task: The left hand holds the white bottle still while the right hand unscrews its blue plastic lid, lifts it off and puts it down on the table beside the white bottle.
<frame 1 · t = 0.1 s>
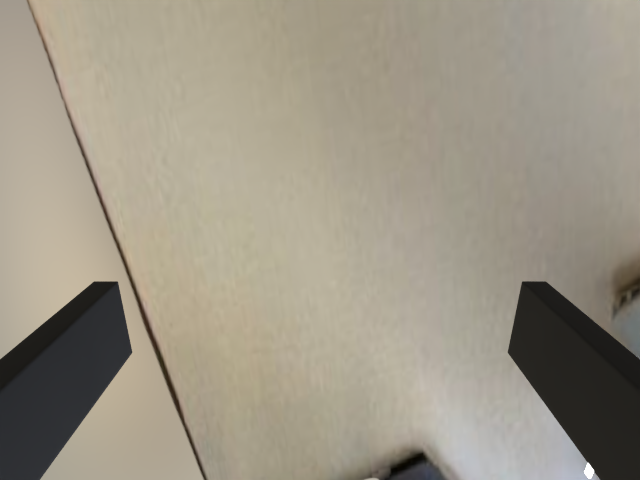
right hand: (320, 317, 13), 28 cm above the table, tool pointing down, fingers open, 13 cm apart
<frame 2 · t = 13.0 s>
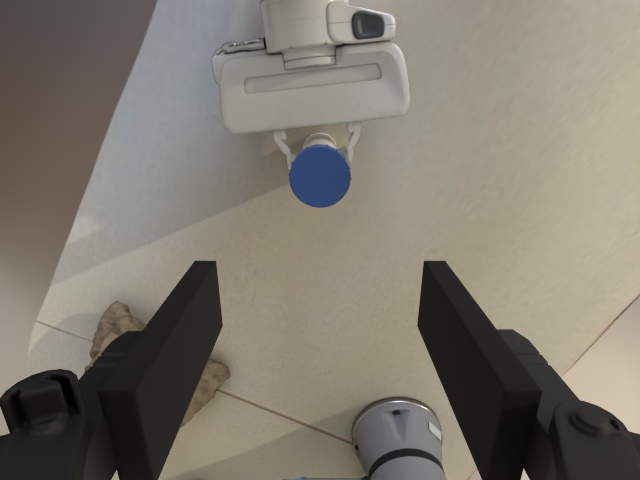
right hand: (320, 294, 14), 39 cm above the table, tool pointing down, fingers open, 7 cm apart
left hand: (321, 166, 45), fingers closed on white bottle, 4 cm apart
white bottle: (320, 150, 51), on the table, touching left hand
stone: (160, 358, 63), on the table
lid: (320, 177, 35), point 17 cm above the table, screwed on, not yet turned
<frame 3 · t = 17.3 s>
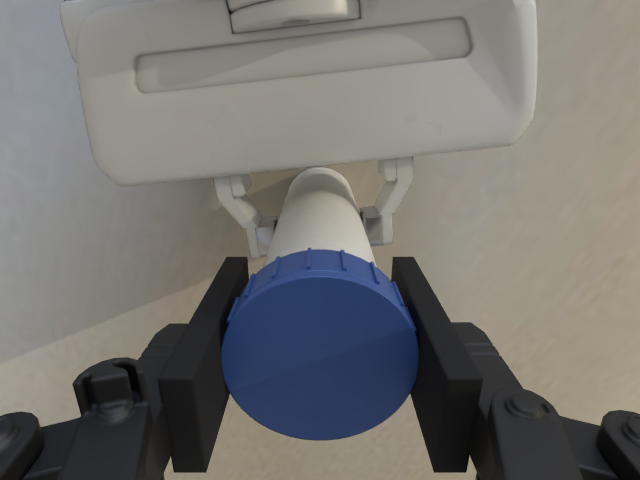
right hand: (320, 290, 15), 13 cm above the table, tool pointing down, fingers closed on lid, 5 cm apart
left hand: (322, 247, 21), fingers closed on white bottle, 4 cm apart
white bottle: (319, 200, 27), on the table, touching left hand
lid: (320, 357, 11), point 17 cm above the table, screwed on, not yet turned, touching right hand
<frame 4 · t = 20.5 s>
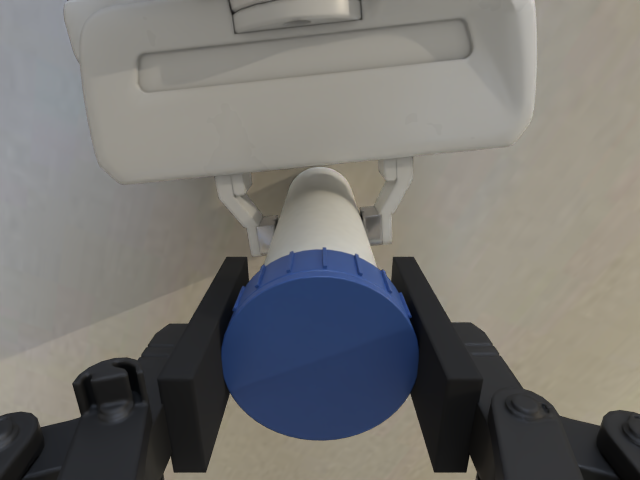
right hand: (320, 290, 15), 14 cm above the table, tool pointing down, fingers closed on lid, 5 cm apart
left hand: (322, 246, 21), fingers closed on white bottle, 4 cm apart
white bottle: (320, 199, 27), on the table, touching left hand
lid: (320, 357, 11), point 18 cm above the table, turned 111° so far, risen 0.1 cm, still on its thread, touching right hand
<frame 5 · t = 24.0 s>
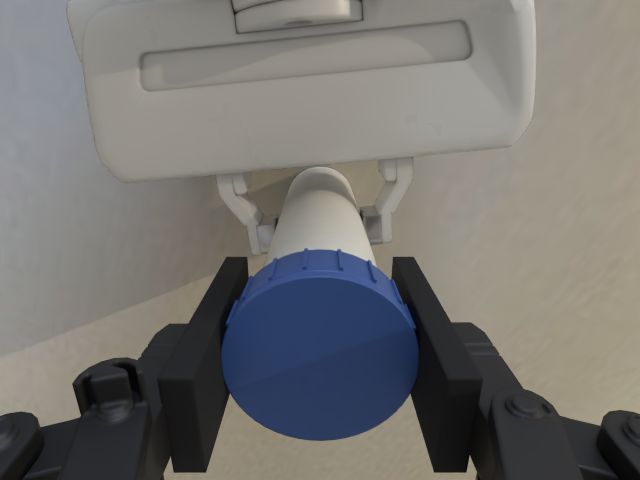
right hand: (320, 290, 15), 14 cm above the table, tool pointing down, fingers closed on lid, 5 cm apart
left hand: (322, 246, 21), fingers closed on white bottle, 4 cm apart
white bottle: (320, 199, 27), on the table, touching left hand
lid: (320, 358, 11), point 18 cm above the table, turned 223° so far, risen 0.3 cm, still on its thread, touching right hand
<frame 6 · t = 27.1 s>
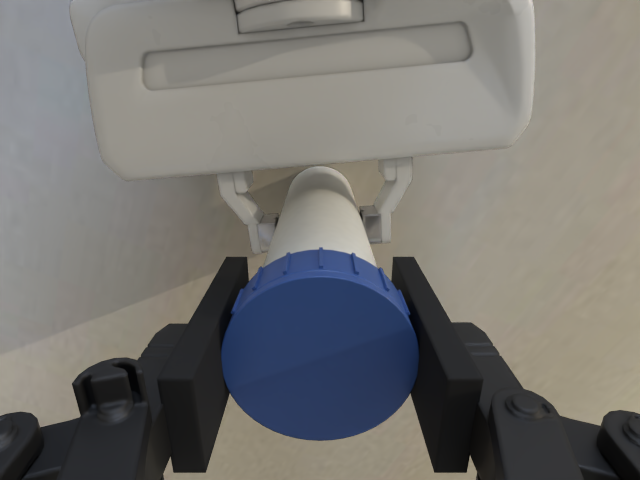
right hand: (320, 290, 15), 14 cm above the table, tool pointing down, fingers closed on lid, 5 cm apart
left hand: (322, 245, 22), fingers closed on white bottle, 4 cm apart
white bottle: (320, 198, 28), on the table, touching left hand
lid: (320, 358, 11), point 18 cm above the table, turned 334° so far, risen 0.4 cm, still on its thread, touching right hand
when the right hand's fingers open (0 cm above the table, at t = 35.5 s): lid drops 3 cm, point 1 cm above the table.
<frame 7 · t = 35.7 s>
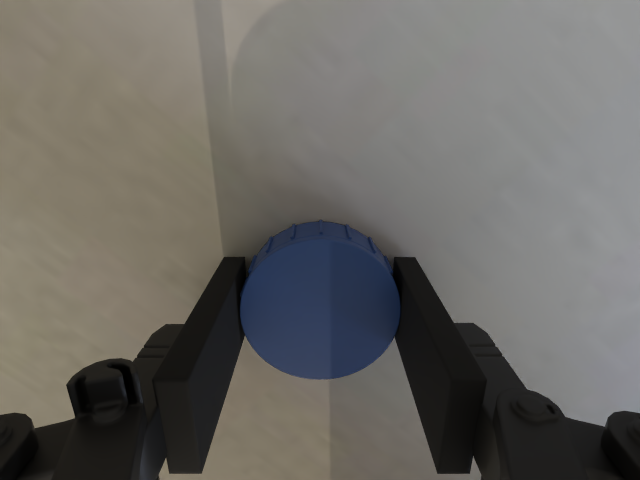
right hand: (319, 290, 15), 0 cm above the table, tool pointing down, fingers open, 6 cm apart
lid: (320, 309, 13), point 1 cm above the table, off its thread, touching right hand
when the left hand's fingers open (7 cm above the table, at t = 37.3 s): white bottle stays where it is, on the table.
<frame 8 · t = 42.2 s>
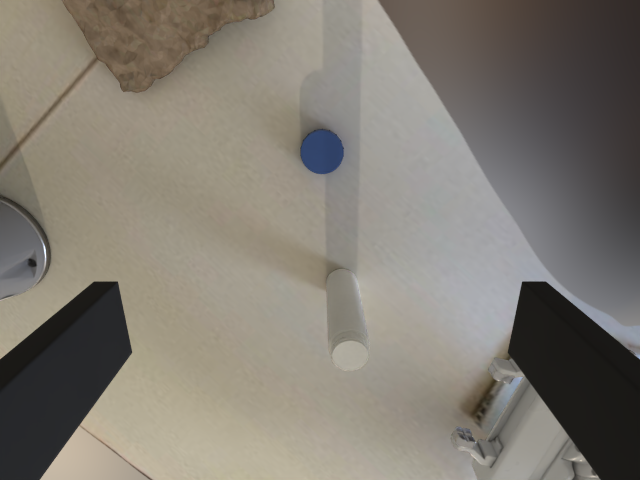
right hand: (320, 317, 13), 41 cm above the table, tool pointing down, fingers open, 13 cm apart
left hand: (472, 403, 40), fingers open, 8 cm apart
white bottle: (341, 282, 58), on the table
stone: (170, 1, 45), on the table
lid: (322, 152, 50), point 2 cm above the table, off its thread
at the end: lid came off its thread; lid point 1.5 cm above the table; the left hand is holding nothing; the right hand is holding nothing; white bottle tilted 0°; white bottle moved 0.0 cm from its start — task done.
